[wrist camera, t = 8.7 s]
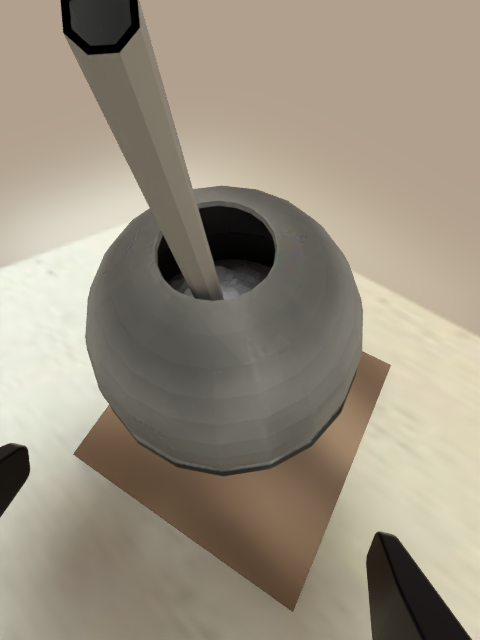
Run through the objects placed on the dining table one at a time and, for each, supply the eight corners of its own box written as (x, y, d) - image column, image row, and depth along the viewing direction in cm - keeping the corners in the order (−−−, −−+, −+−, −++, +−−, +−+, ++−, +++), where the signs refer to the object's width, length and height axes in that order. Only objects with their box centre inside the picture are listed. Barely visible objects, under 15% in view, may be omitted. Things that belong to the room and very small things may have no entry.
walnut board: (290, 604, 16) (293, 611, 16) (81, 455, 20) (73, 454, 19) (384, 369, 21) (391, 365, 21) (205, 281, 25) (203, 274, 24)
